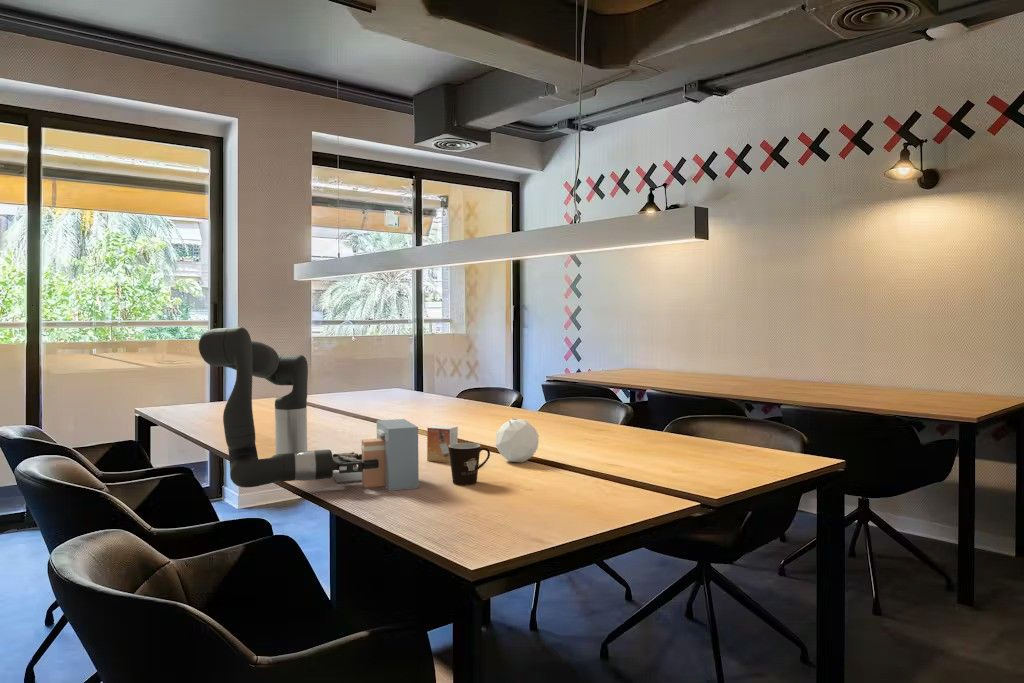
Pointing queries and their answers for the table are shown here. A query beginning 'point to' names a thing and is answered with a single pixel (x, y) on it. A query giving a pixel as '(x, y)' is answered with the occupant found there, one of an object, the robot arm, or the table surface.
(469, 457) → the coffee mug
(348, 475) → the mat
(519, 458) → the geodesic sphere
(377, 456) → the small cardboard carton
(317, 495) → the table surface
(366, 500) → the table surface
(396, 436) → the dispenser
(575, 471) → the table surface
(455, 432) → the small box
